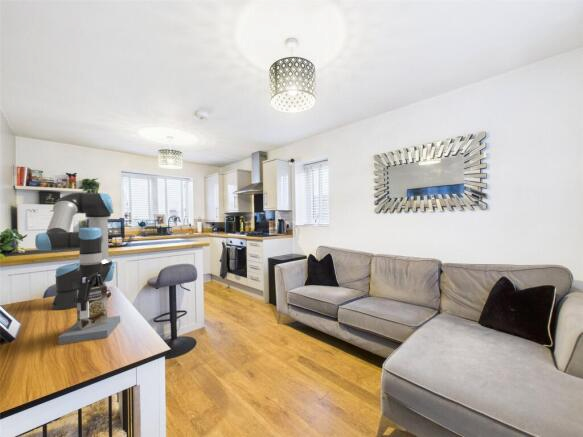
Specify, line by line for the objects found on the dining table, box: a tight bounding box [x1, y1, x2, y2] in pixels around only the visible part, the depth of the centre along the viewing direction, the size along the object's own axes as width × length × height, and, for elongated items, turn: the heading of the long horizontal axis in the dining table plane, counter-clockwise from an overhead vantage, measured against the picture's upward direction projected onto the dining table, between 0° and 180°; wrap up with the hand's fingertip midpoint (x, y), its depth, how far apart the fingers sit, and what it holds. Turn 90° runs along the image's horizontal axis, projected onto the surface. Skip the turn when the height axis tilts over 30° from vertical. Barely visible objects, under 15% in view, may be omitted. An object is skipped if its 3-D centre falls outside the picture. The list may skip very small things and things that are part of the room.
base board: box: [58, 315, 121, 346], centre depth 106 cm, size 16×16×3 cm
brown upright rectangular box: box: [76, 284, 108, 330], centre depth 107 cm, size 9×6×16 cm
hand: (92, 312), depth 106 cm, fingers open, 13 cm apart
